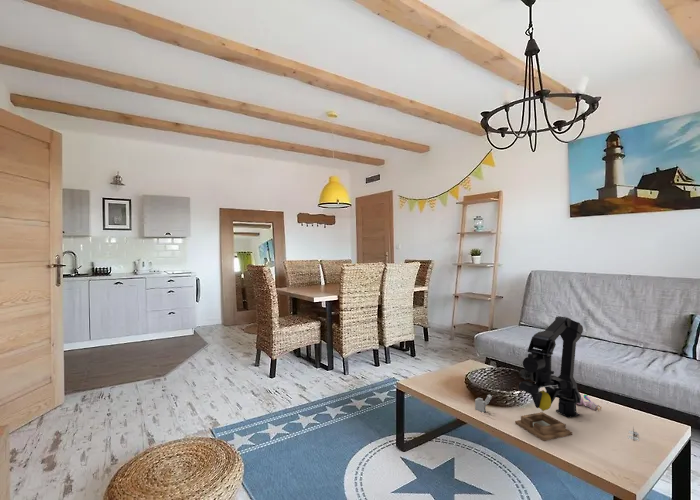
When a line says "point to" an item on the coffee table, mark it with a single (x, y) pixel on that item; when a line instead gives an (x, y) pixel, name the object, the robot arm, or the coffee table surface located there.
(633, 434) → the car cutout
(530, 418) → the tray
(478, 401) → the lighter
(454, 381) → the coffee table surface
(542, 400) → the lemon
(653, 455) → the coffee table surface
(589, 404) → the unicorn toy
